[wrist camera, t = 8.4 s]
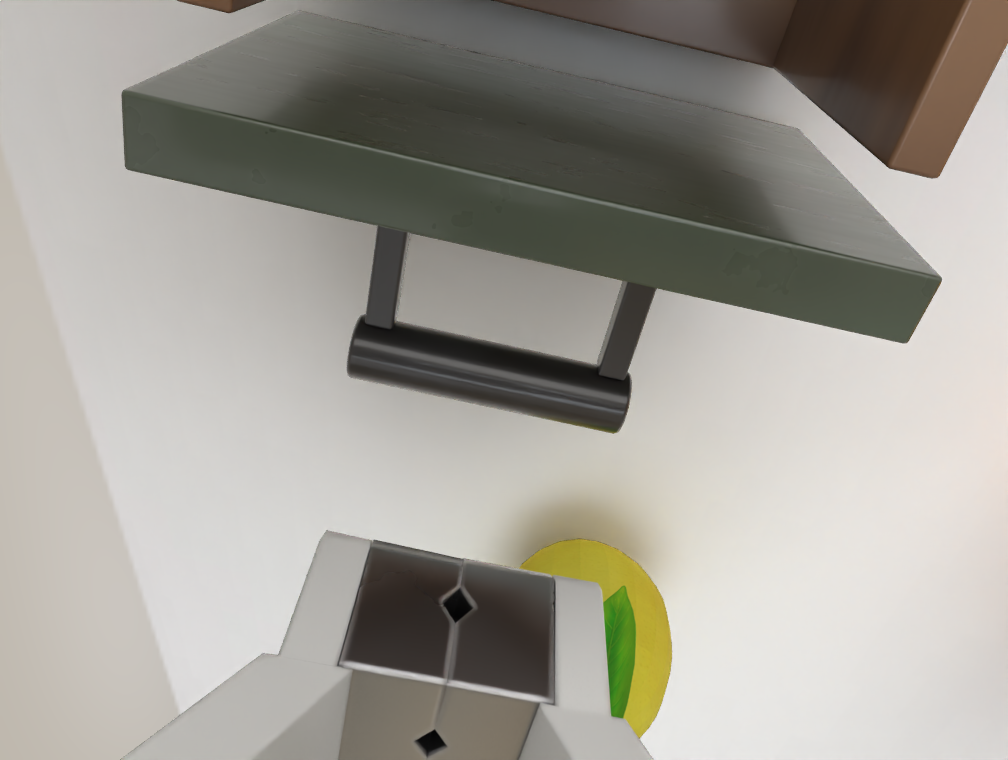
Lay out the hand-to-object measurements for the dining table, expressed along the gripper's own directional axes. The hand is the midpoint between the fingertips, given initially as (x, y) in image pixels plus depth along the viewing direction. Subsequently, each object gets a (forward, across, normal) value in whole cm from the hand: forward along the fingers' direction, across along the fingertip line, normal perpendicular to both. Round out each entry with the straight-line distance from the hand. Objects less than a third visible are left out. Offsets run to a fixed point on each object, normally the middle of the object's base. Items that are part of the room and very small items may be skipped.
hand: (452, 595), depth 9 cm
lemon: (+15, -5, +13) cm, 21 cm away
